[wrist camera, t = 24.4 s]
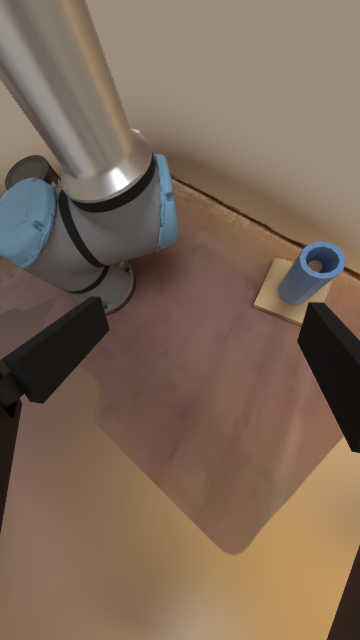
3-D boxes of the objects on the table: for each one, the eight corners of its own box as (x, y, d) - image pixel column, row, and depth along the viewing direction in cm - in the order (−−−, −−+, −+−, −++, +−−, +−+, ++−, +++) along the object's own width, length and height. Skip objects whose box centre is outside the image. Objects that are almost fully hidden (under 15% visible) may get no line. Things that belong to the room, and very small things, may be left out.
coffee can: (95, 210, 55) (56, 157, 41) (77, 242, 53) (30, 197, 40) (67, 203, 57) (21, 151, 44) (49, 233, 56) (-4, 188, 42)
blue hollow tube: (273, 298, 38) (293, 269, 28) (284, 273, 39) (308, 236, 29) (303, 309, 37) (337, 284, 26) (314, 283, 38) (351, 249, 27)
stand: (252, 306, 40) (263, 284, 30) (273, 261, 42) (290, 225, 32) (309, 329, 37) (343, 313, 27) (330, 279, 39) (369, 246, 29)
